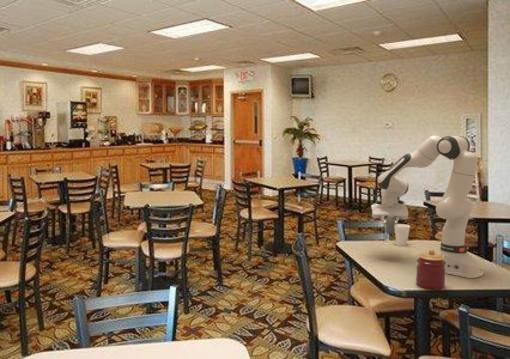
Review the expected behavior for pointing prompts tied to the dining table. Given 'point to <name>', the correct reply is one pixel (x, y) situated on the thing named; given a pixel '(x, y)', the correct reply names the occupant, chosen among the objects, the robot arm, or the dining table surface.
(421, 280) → the canister
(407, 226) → the foam cup
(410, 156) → the robot arm
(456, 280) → the dining table surface
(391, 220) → the connector casing
